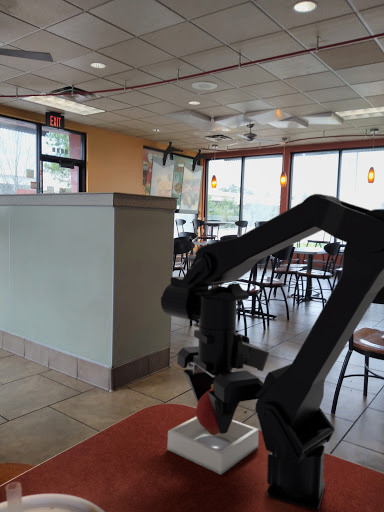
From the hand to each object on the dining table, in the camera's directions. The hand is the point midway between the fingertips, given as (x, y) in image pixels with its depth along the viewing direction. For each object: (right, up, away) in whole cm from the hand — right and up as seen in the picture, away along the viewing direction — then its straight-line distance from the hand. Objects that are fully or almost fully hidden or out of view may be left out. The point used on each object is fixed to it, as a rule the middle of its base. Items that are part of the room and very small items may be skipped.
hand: (214, 424), depth 66 cm
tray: (0, -4, 0) cm, 4 cm away
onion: (0, -2, 0) cm, 2 cm away
